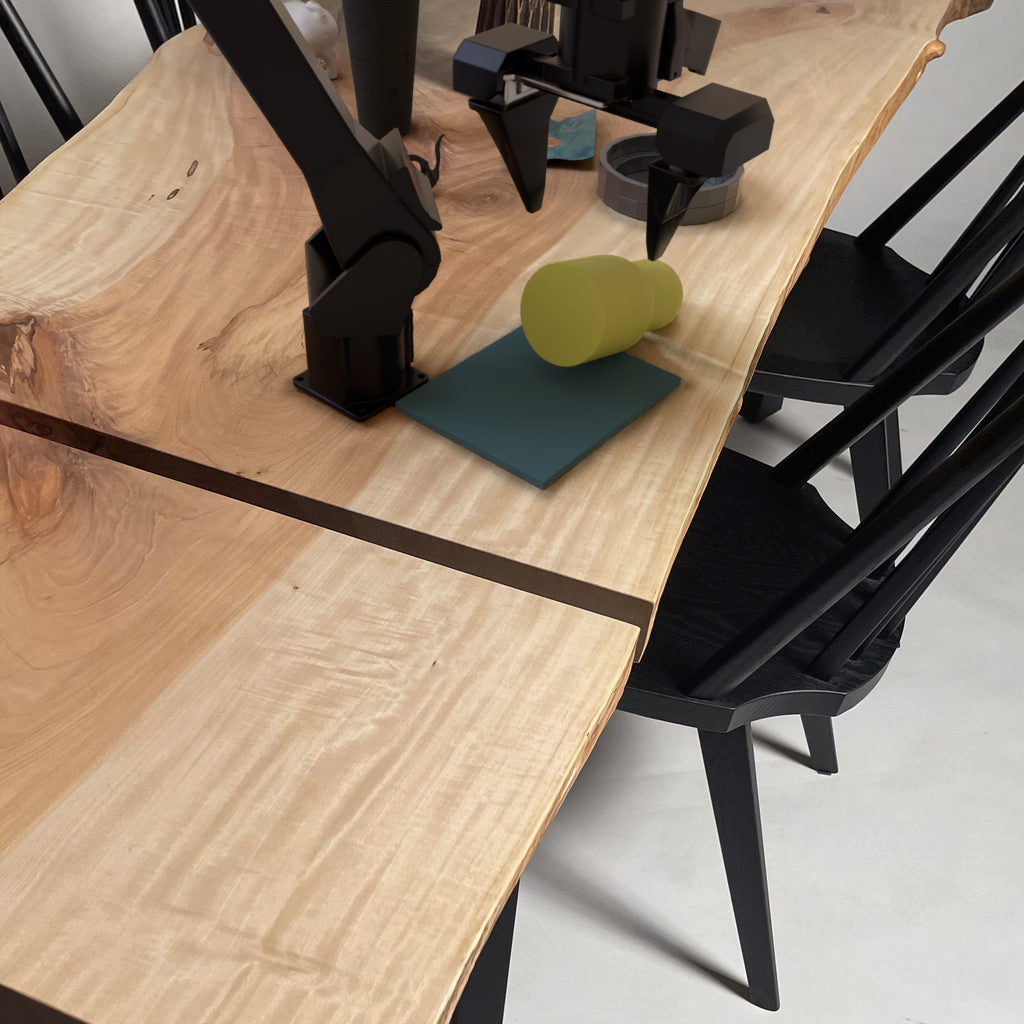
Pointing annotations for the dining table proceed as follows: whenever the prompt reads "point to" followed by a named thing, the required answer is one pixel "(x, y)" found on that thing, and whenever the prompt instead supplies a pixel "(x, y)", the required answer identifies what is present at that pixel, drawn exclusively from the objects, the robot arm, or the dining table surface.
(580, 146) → the teal flat jagged piece
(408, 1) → the drinking cup
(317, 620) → the dining table surface
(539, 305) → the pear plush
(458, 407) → the mat
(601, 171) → the bowl
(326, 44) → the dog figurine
